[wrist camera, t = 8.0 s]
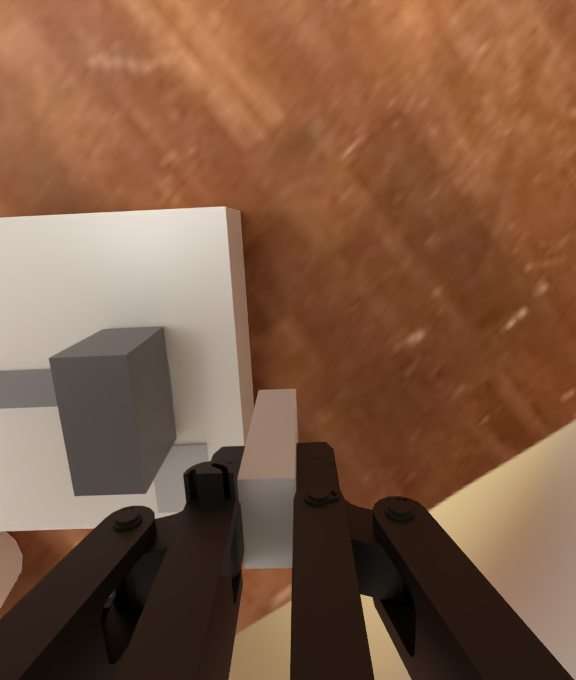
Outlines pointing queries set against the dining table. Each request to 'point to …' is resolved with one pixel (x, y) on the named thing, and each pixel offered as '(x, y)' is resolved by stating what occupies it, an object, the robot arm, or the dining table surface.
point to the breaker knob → (115, 409)
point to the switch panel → (110, 313)
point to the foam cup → (8, 564)
